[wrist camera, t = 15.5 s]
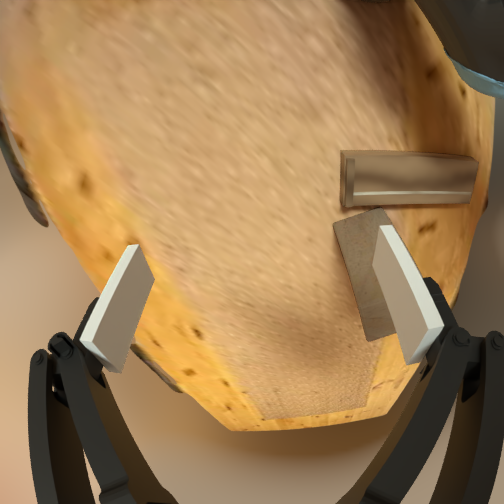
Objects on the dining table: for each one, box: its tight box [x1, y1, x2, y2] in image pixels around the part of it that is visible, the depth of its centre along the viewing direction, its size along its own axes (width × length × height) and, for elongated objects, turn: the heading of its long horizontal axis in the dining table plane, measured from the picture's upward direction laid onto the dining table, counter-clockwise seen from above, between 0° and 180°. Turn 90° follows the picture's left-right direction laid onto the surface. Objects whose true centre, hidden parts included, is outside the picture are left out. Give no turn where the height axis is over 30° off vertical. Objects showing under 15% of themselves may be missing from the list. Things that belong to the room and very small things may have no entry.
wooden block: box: [333, 207, 423, 341], centre depth 42 cm, size 10×10×20 cm
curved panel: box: [340, 150, 479, 207], centre depth 40 cm, size 9×28×4 cm, turn 97°
